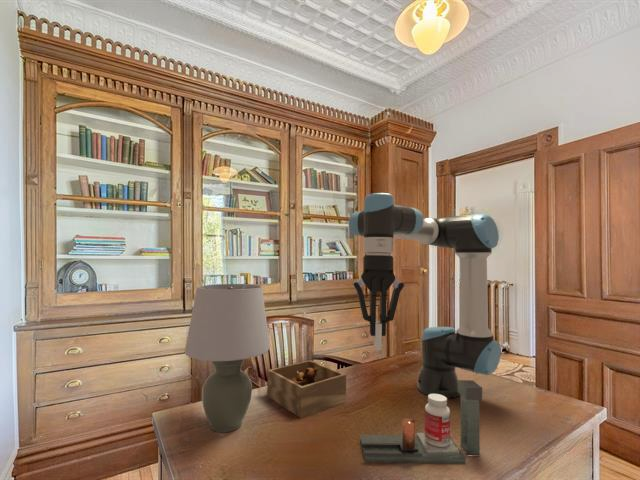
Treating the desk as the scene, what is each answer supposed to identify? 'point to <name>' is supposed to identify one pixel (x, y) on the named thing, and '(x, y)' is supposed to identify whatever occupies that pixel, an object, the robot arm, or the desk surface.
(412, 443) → the lever
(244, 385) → the lamp
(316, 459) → the desk surface
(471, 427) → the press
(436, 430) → the pill bottle
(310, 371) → the bear figurine
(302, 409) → the bear crate
